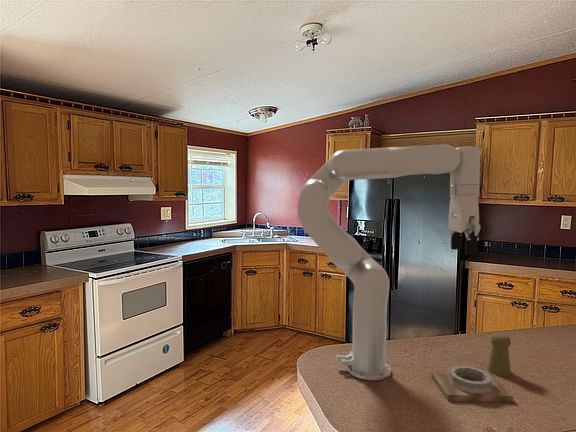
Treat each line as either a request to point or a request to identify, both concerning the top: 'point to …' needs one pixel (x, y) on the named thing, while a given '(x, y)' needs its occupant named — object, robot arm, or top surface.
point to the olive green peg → (499, 355)
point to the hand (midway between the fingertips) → (463, 251)
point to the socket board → (469, 396)
